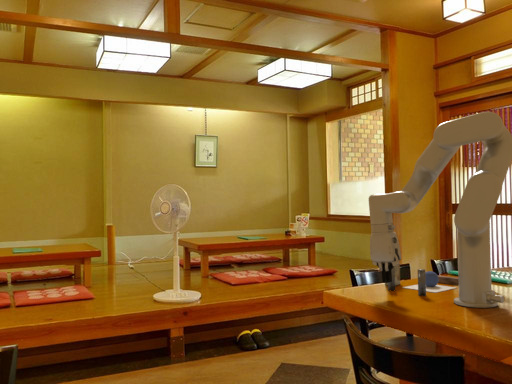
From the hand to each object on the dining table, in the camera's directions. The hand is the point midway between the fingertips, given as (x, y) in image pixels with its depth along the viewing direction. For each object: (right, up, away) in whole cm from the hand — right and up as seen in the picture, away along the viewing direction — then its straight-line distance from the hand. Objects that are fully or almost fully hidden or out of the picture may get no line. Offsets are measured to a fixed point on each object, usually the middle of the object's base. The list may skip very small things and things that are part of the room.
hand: (387, 282), depth 162 cm
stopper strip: (+32, -5, +24) cm, 41 cm away
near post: (+13, -5, +3) cm, 14 cm away
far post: (+5, -6, +13) cm, 16 cm away
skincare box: (+9, -6, +25) cm, 28 cm away
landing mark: (+21, -5, +16) cm, 27 cm away
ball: (+22, -2, +19) cm, 29 cm away
